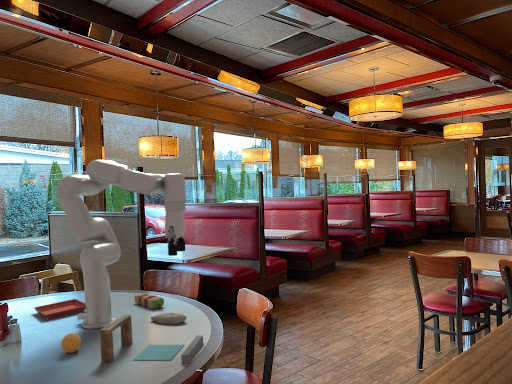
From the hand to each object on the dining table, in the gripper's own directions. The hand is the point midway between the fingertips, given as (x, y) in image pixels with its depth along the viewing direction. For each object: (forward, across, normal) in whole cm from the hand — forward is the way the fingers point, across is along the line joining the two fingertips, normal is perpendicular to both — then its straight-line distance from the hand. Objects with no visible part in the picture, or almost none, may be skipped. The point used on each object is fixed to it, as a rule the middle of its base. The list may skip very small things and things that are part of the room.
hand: (177, 253), depth 153 cm
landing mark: (+28, +23, 0) cm, 36 cm away
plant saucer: (+29, -23, -62) cm, 72 cm away
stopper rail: (+28, +23, +11) cm, 38 cm away
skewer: (+29, -30, -23) cm, 48 cm away
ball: (+25, +22, -30) cm, 45 cm away
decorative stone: (+28, -8, -7) cm, 30 cm away
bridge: (+28, +22, -14) cm, 38 cm away
